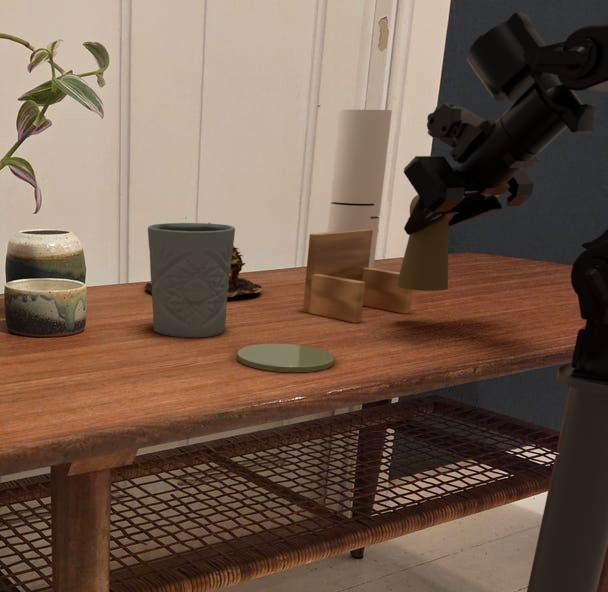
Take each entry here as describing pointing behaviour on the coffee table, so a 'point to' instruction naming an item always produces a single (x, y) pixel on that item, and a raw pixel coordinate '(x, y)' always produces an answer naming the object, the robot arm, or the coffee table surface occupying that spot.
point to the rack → (349, 278)
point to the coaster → (285, 358)
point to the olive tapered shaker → (426, 258)
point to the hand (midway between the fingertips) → (419, 230)
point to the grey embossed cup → (190, 277)
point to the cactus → (234, 278)
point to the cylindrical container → (359, 172)
